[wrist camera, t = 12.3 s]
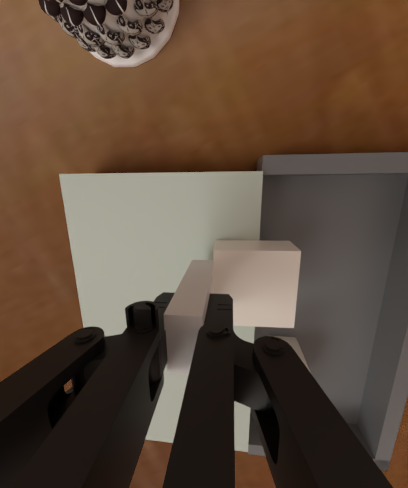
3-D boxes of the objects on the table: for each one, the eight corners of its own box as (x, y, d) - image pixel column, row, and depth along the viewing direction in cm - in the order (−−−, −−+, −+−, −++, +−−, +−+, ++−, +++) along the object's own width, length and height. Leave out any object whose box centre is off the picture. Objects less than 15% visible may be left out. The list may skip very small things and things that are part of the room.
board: (245, 409, 24) (248, 451, 21) (119, 397, 26) (100, 434, 22) (256, 173, 18) (263, 171, 15) (92, 176, 20) (59, 174, 16)
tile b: (284, 307, 17) (294, 328, 14) (215, 305, 17) (213, 324, 15) (289, 240, 16) (301, 251, 13) (215, 240, 16) (213, 250, 14)
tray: (365, 429, 23) (387, 470, 20) (245, 417, 25) (247, 453, 21) (424, 157, 17) (473, 150, 13) (257, 160, 18) (262, 155, 15)
